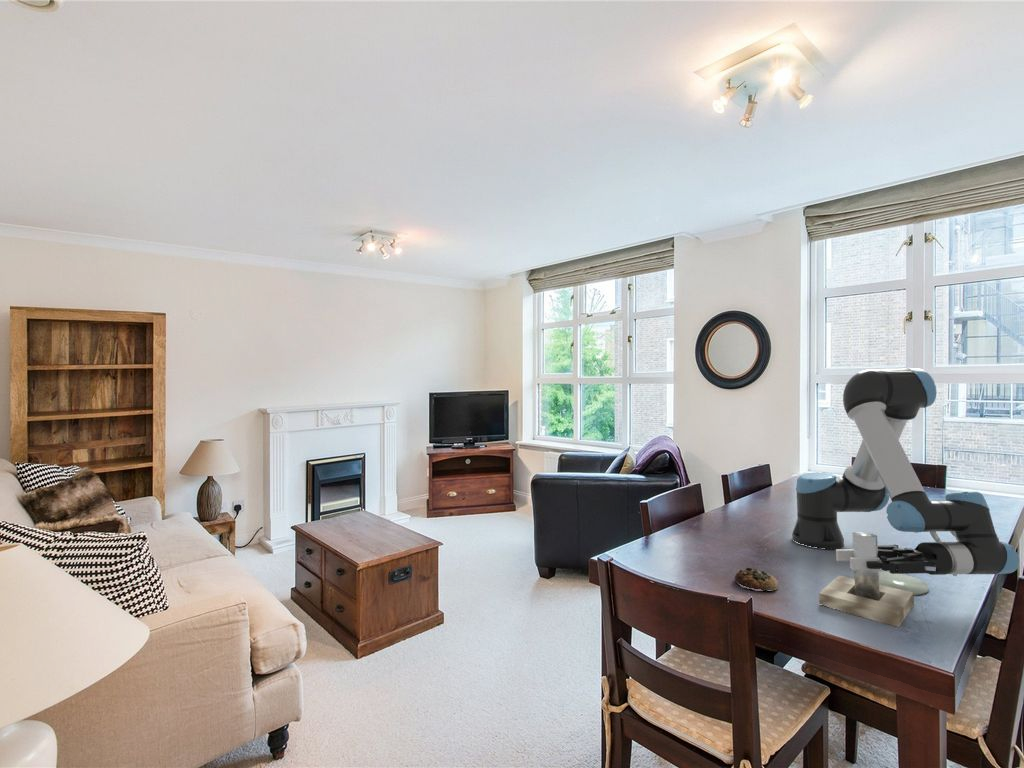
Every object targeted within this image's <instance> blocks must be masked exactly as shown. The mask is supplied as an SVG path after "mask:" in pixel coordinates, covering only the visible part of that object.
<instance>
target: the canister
mask: <svg viewBox="0 0 1024 768" xmlns="http://www.w3.org/2000/svg"><path fill="white" fill-rule="evenodd" d="M878 543H879V542H878V535H877V534H875V533H871V532H867V531H866V532H865V531H854V532H852V549H853V556H854V558H861V557H878V546H879V544H878ZM879 571H880V570H853V573H854V575H853V576H854V577H853V578H854V579H855V594H856V596H861V597H865V598H869V599H873V600H878V599H880V585H879Z"/></svg>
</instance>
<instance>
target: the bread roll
mask: <svg viewBox="0 0 1024 768" xmlns="http://www.w3.org/2000/svg"><path fill="white" fill-rule="evenodd" d="M735 580H736V581H737V582H738V583H739V584H741V585H743V586H746V587H749V588H754V589H761V590H764V591H765V590H774V589H776V588H777V587H779V584H778V583H779V582H778V580H777V578H775V577H774V576H773V574H768V573H767V572H766V571H761V570H758V569H757V568H751V567H746V568H745V569H740V570H739V571H738V572H736V574H735V576H734V581H735ZM736 581H735V582H736ZM777 589H778V588H777Z"/></svg>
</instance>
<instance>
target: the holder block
mask: <svg viewBox="0 0 1024 768" xmlns="http://www.w3.org/2000/svg"><path fill="white" fill-rule="evenodd" d="M818 603H819V604H822V605H825V606H828V607H831V608H835V609H839V610H842V611H845V612H844V613H846V612H849V613H851V614H850V615H853V614H854V616H857V617H860V616H861V618H865V619H868V620H872V621H875V622H880V623H883V624H886V625H890V626H893V627H897V628H899V627H900V626H901V625H902V623H903V622H904V621H905V619H906V618H907V616H908V615H909V613H910V611H911V610H912V608H913V607H914V606H915V595H914V592H909V591H905V590H900V589H896V588H892V587H887V586H883V585H880V599H878V600H873V599H869V598H865V597H861V596H856V594H855V578H851V577H848V576H842V575H837V577H836V578H834V579H833V580H832V581H831V582H830V583H829V584H827V585H826V586H825V587H824V588H823V589H822V590H820V591H819V593H818ZM831 608H830V609H831ZM835 609H834V610H835ZM842 611H841V612H842ZM849 613H848V614H849Z"/></svg>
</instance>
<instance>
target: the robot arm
mask: <svg viewBox="0 0 1024 768" xmlns="http://www.w3.org/2000/svg"><path fill="white" fill-rule="evenodd" d="M936 398H937V385H936V383H935V380H934V378H933V377H932V376H931V375H930V374H929V373H928V372H927V371H925V370H924V369H922V368H911V367H904V368H881V369H880V368H879V369H876V368H870V369H865V370H860V371H859V372H858V373H855V374H854V375H852V377H851V378H850V379H849V380H848V381H847V383H846V385H845V387H844V390H843V394H842V403H843V408H844V410H845V413H846V415H847V417H848V419H849V420H852V421H854V424H855V425H856V428H857V430H858V431H859V434H860V436H861V438H862V441H861V443H860V446H859V448H858V451H857V453H856V455H855V459H854V461H853V464H852V465H850V466H847V467H846V468H845V470H844V471H843V474H842V475H841V476H836V475H835V474H834V473H832V472H825V471H823V472H817V471H816V472H809V473H803V474H800V476H798V477H797V479H796V483H795V485H796V487H795V491H796V510H797V511H796V512H797V513H796V515H797V516H796V517H797V518H796V522H795V525H794V526H793V527H794V528H793V531H792V533H791V536H792V539H793V540H794V541H796V542H798V543H800V544H804V545H807V546H811V547H817V548H825V549H824V550H829V549H831V550H835V560H836V561H837V562H849V567H850V570H852V571H854V570H879V571H880V570H881V571H883V572H890V573H891V574H903V575H907V574H913V575H914V574H927V575H933V576H936V575H940V576H943V575H944V576H945V575H952V576H953V577H958V575H1003V574H1011V573H1014V572H1015V571H1017V570H1018V568H1019V565H1020V557H1019V554H1018V552H1017V551H1015V550H1014V546H1012V545H1011V544H1010V543H1007V542H1005V541H1001V540H999V537H998V534H997V533H996V530H995V526H994V522H993V520H992V519H993V518H992V516H991V512H990V508H989V505H988V504H987V503H988V502H987V500H986V498H985V496H984V495H983V494H982V492H979V491H975V490H974V491H972V490H971V491H956V492H950V493H949V492H948V493H947V494H946V495H945V499H944V500H943V499H942V500H930V498H929V496H928V495H927V494H926V491H925V489H924V487H923V486H922V483H921V481H920V479H919V477H918V475H917V474H916V471H915V470H914V467H913V466H912V463H911V461H910V460H909V457H908V456H907V454H906V451H905V450H904V447H903V446H902V444H901V441H900V438H901V435H902V434H903V430H904V429H905V426H906V425H907V422H908V421H911V420H914V419H916V417H917V415H918V413H919V411H920V409H921V408H922V409H925V408H927V407H931V406H932V405H934V403H935V401H936ZM889 499H890V501H891V502H890V503H889ZM885 507H886V514H887V517H886V519H887V521H888V522H889V524H890V526H891V527H893V529H895V530H896V531H899V532H902V533H903V532H904V533H905V532H906V533H930V532H935V531H936V532H950V531H955V533H956V535H957V539H958V540H959V542H957V541H958V540H957V541H941V542H936V541H933V542H932V541H931V542H930V541H927V542H926V541H925V542H923V541H922V542H920V543H918V544H917V545H916V547H915V548H912V547H905V548H900V547H899V545H898V544H889V545H882V544H881V545H878V557H861V558H854V556H853V548H849V549H847V548H844V547H845V539H844V535H843V534H842V530H841V528H840V526H839V523H838V513H863V512H864V513H871V512H877V511H881V510H883V509H884V508H885ZM793 540H792V541H793ZM794 541H793V542H794ZM842 547H843V548H844V549H843V548H842ZM837 548H840V549H837Z"/></svg>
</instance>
